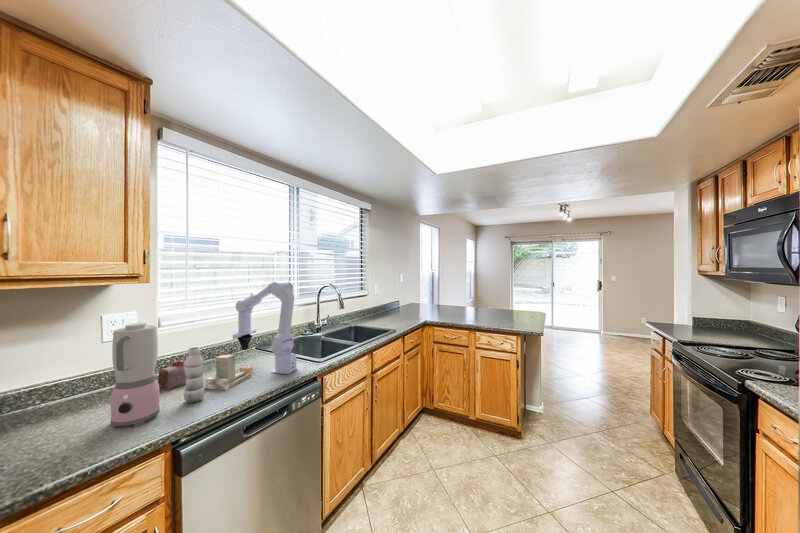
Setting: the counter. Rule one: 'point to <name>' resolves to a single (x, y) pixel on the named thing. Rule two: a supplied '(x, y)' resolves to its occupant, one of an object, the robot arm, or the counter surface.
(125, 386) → the blender
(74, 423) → the counter surface
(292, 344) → the robot arm
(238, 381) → the channel
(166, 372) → the food item
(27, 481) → the counter surface
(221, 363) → the skincare box
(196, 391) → the plastic bottle
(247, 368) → the peach and white mallet
